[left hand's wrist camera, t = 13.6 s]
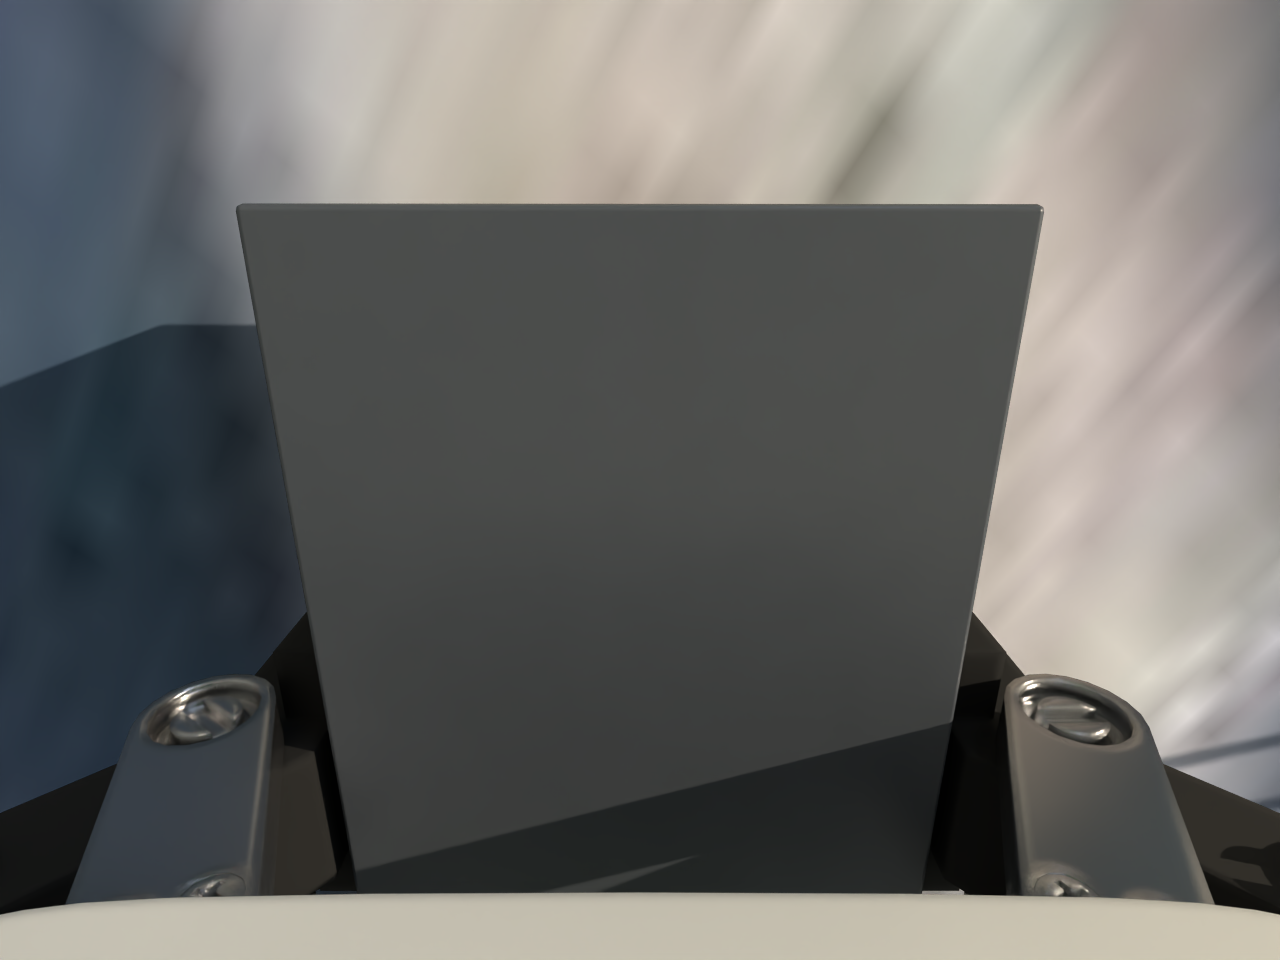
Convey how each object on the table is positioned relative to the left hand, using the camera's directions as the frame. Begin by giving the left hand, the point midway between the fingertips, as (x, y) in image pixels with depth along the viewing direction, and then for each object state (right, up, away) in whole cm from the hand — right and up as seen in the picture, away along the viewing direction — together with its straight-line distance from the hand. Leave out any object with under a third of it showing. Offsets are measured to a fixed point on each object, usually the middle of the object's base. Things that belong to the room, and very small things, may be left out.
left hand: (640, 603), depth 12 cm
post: (0, -29, +12) cm, 32 cm away
